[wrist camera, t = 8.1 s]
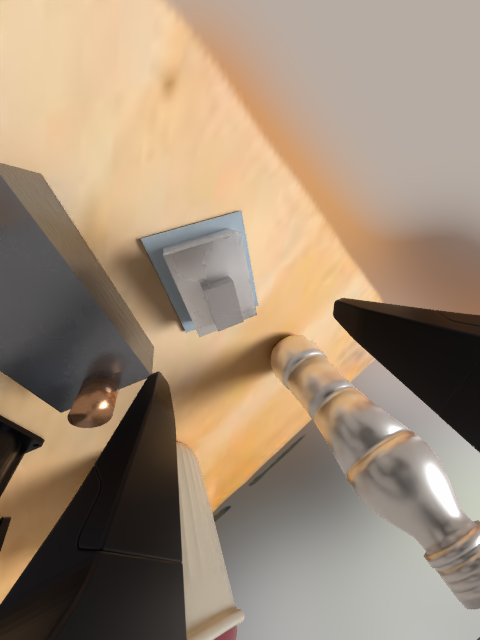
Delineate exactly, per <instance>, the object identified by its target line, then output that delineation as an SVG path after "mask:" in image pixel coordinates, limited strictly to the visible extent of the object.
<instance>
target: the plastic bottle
mask: <svg viewBox="0 0 480 640" xmlns="http://www.w3.org/2000/svg"><path fill="white" fill-rule="evenodd" d="M271 366H272V369H273V371H274V373H275V375H276V377H277V378H278V379H279V380H280V381H281V382H282V384H283V385H285V386H286V387H287V388H288V389H289V390H290V391H291V392H292V394H293V395H294V396H295V397H296V398H297V400H298V401H299V402H300V403H301V405H302V406H303V407H304V408H305V409H306V411H307V412H308V413H309V415H310V417H311V418H312V420H313V421H314V422H315V424H316V426H317V427H318V429H319V430H320V432H321V434H322V435H323V437H324V438H325V440H326V442H327V443H328V445H329V447H330V449H331V451H332V453H333V454H334V456H335V458H336V460H337V462H338V464H339V465H340V467H341V469H342V471H343V472H344V474H345V475H346V476H347V480H348V482H349V483H350V485H351V486H352V488H353V490H354V492H355V493H356V494H357V496H358V497H359V498H360V499H361V500H362V501H363V502H364V503H365V504H366V505H367V506H368V507H369V508H370V509H372V510H373V511H374V512H376V513H377V514H379V515H380V516H381V517H383V518H384V519H386V520H387V521H388V522H390V523H392V524H393V525H395V526H397V527H398V528H400V529H401V530H403V531H405V532H406V533H408V534H409V535H411V536H413V537H414V538H415V539H416V540H417V541H418V542H419V543H420V544H421V545H422V546H423V548H424V549H425V550H426V553H425V554H424V557H425V558H426V560H427V561H428V562H429V564H430V565H431V567H432V568H435V569H436V570H437V572H438V573H439V574H440V576H441V577H442V579H443V580H444V581H445V583H446V584H447V585H448V587H449V588H450V589H451V591H452V592H453V593H454V595H455V596H456V597H457V599H458V600H459V601H460V602H461V603H462V604H463V605H464V607H465V608H467V609H478V608H480V521H474V522H473V521H471V520H470V519H469V518H468V516H467V515H466V514H465V513H464V512H463V510H462V509H461V508H460V506H459V503H458V501H457V498H456V495H455V493H454V490H453V488H452V485H451V483H450V480H449V478H448V476H447V474H446V472H445V470H444V468H443V465H442V463H441V461H440V459H439V458H438V457H437V455H436V454H435V453H434V452H433V450H432V449H431V448H430V446H429V445H428V444H427V443H426V442H425V441H423V440H422V439H421V438H420V437H418V436H417V435H416V434H415V433H414V432H412V431H410V430H409V429H408V428H407V427H406V426H404V425H403V424H402V423H400V422H398V421H397V420H396V419H395V418H393V417H392V416H391V415H389V414H388V413H387V412H385V411H384V410H383V409H381V408H380V407H379V406H377V405H376V404H374V403H373V402H372V401H371V400H370V399H369V398H367V397H366V396H365V395H364V394H363V393H362V392H360V391H359V390H357V389H356V387H354V386H353V385H352V384H351V383H350V382H349V381H348V380H347V379H346V378H345V377H344V376H343V375H342V374H341V373H340V372H339V371H338V370H337V369H336V367H335V366H334V365H333V364H332V363H331V362H330V361H329V360H328V359H327V357H326V356H325V354H324V353H323V351H322V350H321V349H320V348H319V347H318V345H317V344H316V343H315V342H313V341H312V340H310V339H308V338H307V337H305V336H301V335H291V336H288V337H286V338H284V339H282V340H281V341H280V342H278V343H277V345H276V346H275V347H274V349H273V351H272V354H271Z"/></svg>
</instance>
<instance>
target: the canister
mask: <svg viewBox="0 0 480 640" xmlns="http://www.w3.org/2000/svg"><path fill="white" fill-rule="evenodd" d="M176 445H177V465H178V484H179V503H180V522H181V542H182V563H183V577H184V597H185V616H186V635H187V640H236V634H237V625H238V624H240V623H241V622H242V621H243V620H244V613H243V611H242V610H241V609H237V608H236V606H235V604H234V600H233V596H232V592H231V587H230V583H229V580H228V575H227V571H226V567H225V563H224V559H223V555H222V551H221V547H220V543H219V539H218V535H217V531H216V527H215V523H214V519H213V515H212V511H211V507H210V503H209V499H208V495H207V491H206V487H205V484H204V480H203V476H202V473H201V469H200V466H199V462H198V460H197V457H196V456H195V454H194V453H193V451H192V450H191V449H190V448H189V447H188V446H187V445H185V444H182V443H180V442H177V441H176Z"/></svg>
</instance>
